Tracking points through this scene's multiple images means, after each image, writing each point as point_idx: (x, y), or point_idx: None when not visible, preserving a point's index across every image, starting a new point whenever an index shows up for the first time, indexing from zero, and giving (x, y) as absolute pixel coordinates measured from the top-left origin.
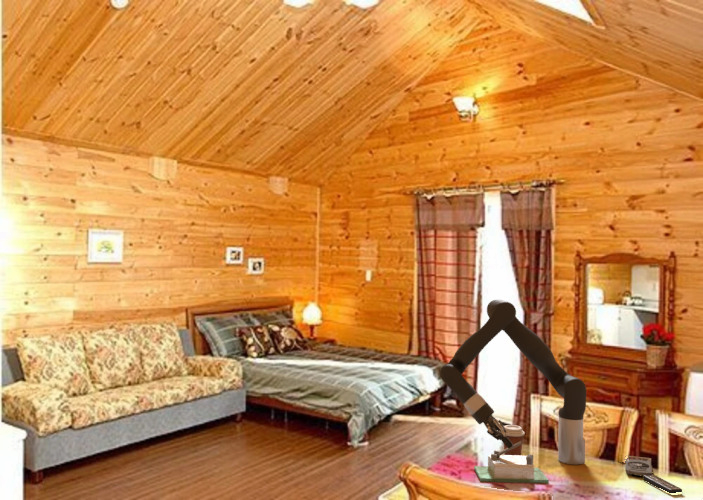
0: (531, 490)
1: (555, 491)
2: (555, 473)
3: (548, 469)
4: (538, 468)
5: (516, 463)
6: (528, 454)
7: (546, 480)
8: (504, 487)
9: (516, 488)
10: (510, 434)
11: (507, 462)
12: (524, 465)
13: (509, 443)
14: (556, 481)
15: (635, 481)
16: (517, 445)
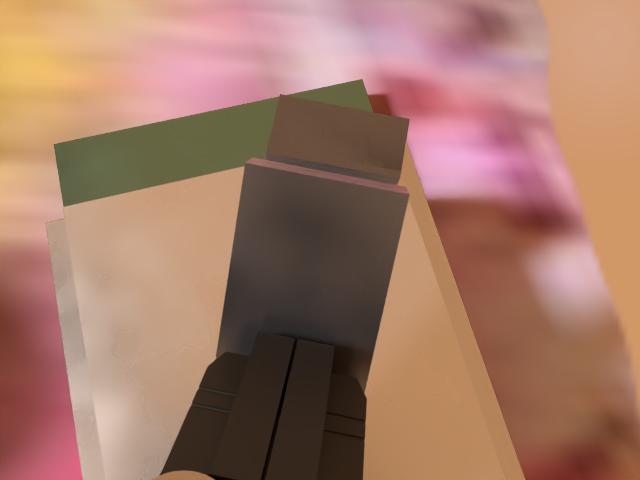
0: (573, 223)
1: (511, 59)
2: (98, 35)
3: (4, 79)
4: (78, 145)
5: (416, 318)
6: (272, 147)
7: (367, 97)
8: (613, 453)
9: (586, 343)
10: None
11: (423, 434)
12: (416, 231)
13: (350, 396)
14: (290, 40)
15: None
16: (394, 244)
